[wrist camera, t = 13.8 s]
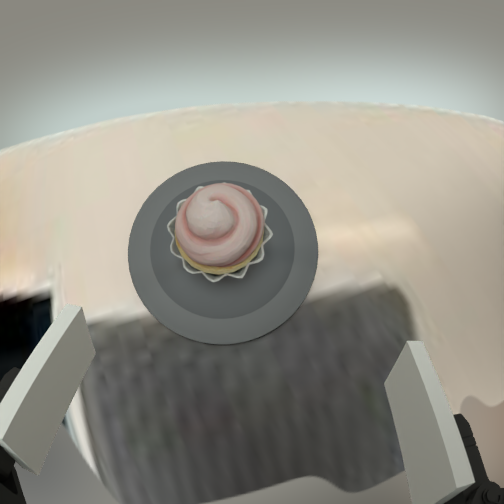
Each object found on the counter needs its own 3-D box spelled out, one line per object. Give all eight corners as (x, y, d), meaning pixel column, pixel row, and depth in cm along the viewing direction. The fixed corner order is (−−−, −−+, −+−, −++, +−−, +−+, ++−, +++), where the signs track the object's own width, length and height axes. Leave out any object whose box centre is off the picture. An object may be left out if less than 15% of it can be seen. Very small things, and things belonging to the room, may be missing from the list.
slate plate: (335, 201, 37) (338, 196, 35) (279, 372, 31) (280, 373, 30) (178, 147, 38) (176, 141, 37) (103, 299, 32) (98, 297, 31)
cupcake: (284, 234, 34) (302, 191, 24) (232, 309, 31) (231, 292, 22) (212, 188, 35) (204, 133, 25) (158, 256, 33) (129, 219, 23)
